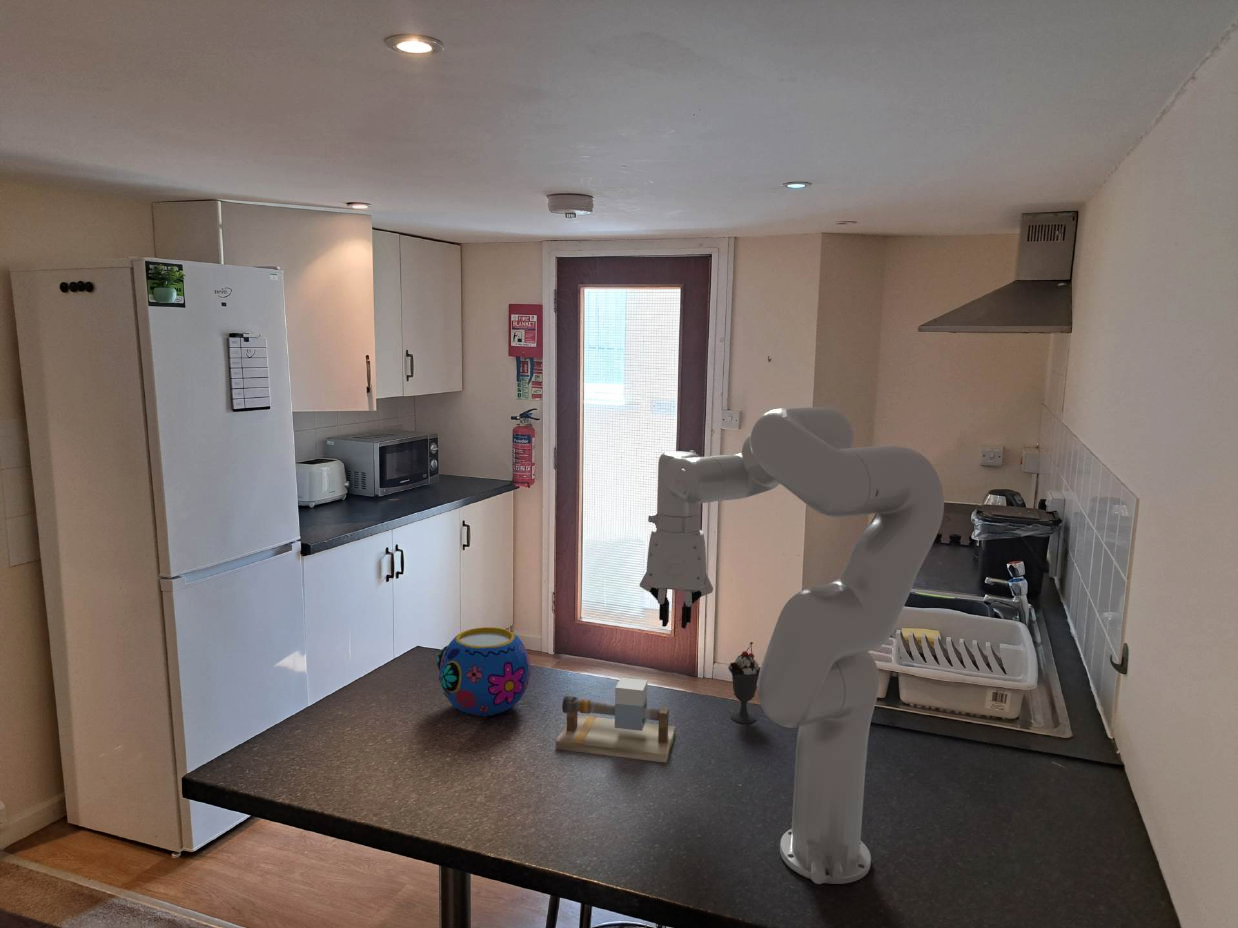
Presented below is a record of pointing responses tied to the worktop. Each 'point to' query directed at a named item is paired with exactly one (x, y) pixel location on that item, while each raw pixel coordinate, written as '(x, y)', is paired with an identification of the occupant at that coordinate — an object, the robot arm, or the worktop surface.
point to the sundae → (744, 684)
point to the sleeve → (630, 703)
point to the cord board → (614, 732)
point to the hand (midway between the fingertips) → (674, 624)
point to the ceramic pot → (484, 670)
